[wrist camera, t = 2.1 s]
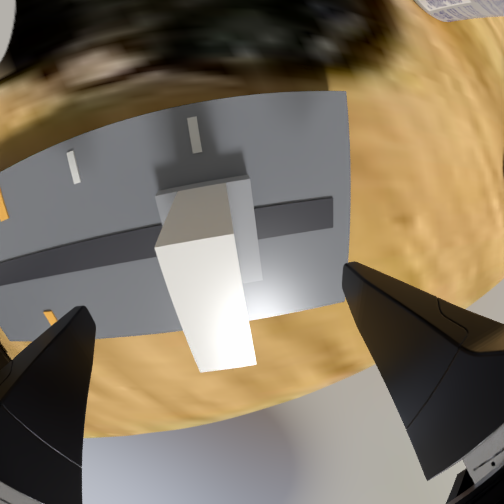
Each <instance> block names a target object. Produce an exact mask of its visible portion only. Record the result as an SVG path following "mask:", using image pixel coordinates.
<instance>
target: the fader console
mask: <svg viewBox="0 0 504 504" xmlns="http://www.w3.org/2000/svg"><path fill="white" fill-rule="evenodd" d="M243 175H248V176H249V178H250V182H251V189H252V197H253V205H254V213H255V221H256V229H257V237H258V245H259V254H260V262H261V270H262V278H263V280H261V281H255V282H249V283H243V290H244V296H245V302H246V308H247V313H248V319H249V321H250V320H256V319H261V318H267V317H272V316H278V315H283V314H288V313H293V312H298V311H303V310H308V309H313V308H317V307H322V306H326V305H331V304H335V303H340V302H344V301H345V295H344V292H343V290H342V273H343V266H344V264H345V263H348V253H349V234H350V142H349V123H348V108H347V96H346V91H299V92H279V93H266V94H255V95H246V96H237V97H230V98H222V99H216V100H210V101H204V102H198V103H193V104H188V105H183V106H178V107H173V108H169V109H164V110H160V111H156V112H152V113H148V114H144V115H140V116H137V117H133V118H130V119H126V120H123V121H120V122H116V123H113V124H110V125H107V126H104V127H101V128H98V129H95V130H92V131H90V132H87V133H84V134H81V135H79V136H76V137H74V138H71V139H69V140H66V141H64V142H61V143H59V144H56V145H54V146H52V147H50V148H47V149H45V150H43V151H41V152H39V153H36V154H34V155H32V156H30V157H28V158H26V159H24V160H22V161H20V162H18V163H16V164H14V165H12V166H11V167H9V168H7V169H5V170H3V171H2V172H0V327H1V328H2V330H3V331H4V333H5V334H6V336H7V337H8V339H9V340H10V341H34V340H35V339H36V338H38V337H39V336H40V335H41V334H42V333H43V332H45V331H46V330H47V329H48V328H49V327H51V326H52V325H53V324H54V323H55V322H57V321H58V320H59V319H60V318H61V317H63V316H64V315H65V314H66V313H68V312H69V311H70V310H71V309H73V308H74V307H76V306H83V305H84V306H86V307H87V309H88V310H89V312H90V314H91V316H92V318H93V320H94V321H95V324H96V336H95V339H101V338H115V337H127V336H138V335H148V334H157V333H166V332H175V331H183V329H182V326H181V324H180V321H179V319H178V316H177V313H176V310H175V308H174V305H173V302H172V299H171V297H170V294H169V291H168V288H167V285H166V282H165V279H164V276H163V273H162V270H161V267H160V264H159V261H158V258H157V255H156V251H155V248H154V247H155V245H156V242H157V240H158V237H159V234H160V232H161V229H162V223H161V219H160V215H159V211H158V207H157V203H156V199H155V195H156V194H157V192H158V191H160V190H165V189H170V188H174V187H179V186H185V185H190V184H195V183H200V182H206V181H212V180H218V179H224V178H230V177H236V176H243Z"/></svg>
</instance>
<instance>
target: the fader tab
mask: <svg viewBox="0 0 504 504" xmlns="http://www.w3.org/2000/svg"><path fill="white" fill-rule="evenodd" d="M155 199H156V203H157V207H158V211H159V215H160V219H161V223H162V229H161V232H160V234H159V237H158V240H157V242H156V245H155V247H154V248H155V251H156V255H157V258H158V261H159V264H160V267H161V270H162V273H163V276H164V279H165V282H166V285H167V288H168V291H169V294H170V297H171V299H172V302H173V305H174V308H175V310H176V313H177V316H178V319H179V321H180V324H181V326H182V329H183V332H184V334H185V337H186V339H187V342H188V344H189V347H190V349H191V352H192V354H193V356H194V359H195V361H196V363H197V366H198V368H199V370H200V372H208V371H216V370H224V369H231V368H238V367H244V366H250V365H256V358H255V353H254V347H253V342H252V336H251V330H250V325H249V319H248V313H247V308H246V302H245V296H244V290H243V283H249V282H255V281H261V280H263V278H262V270H261V262H260V254H259V245H258V237H257V229H256V221H255V213H254V205H253V197H252V189H251V182H250V178H249V176H248V175H243V176H236V177H230V178H224V179H218V180H212V181H206V182H200V183H195V184H190V185H185V186H179V187H174V188H170V189H165V190H160V191H158V192H157V194H156V195H155Z"/></svg>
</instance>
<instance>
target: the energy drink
mask: <svg viewBox="0 0 504 504" xmlns="http://www.w3.org/2000/svg"><path fill="white" fill-rule="evenodd" d="M414 1H415V3H416V4H417V5H418V6H419V7H420V8H422V9H423V10H424V11H425V12H426V13H428V14H429V15H431V16H432V17H434V18H436V19H438V20H441V21H444V22H451V21H457V20H465V19H473V18H483V17H498V16H504V0H414Z"/></svg>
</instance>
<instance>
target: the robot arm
mask: <svg viewBox="0 0 504 504" xmlns="http://www.w3.org/2000/svg"><path fill="white" fill-rule="evenodd" d="M342 290H343V292H344V295H345V297H346V300H347V302H348V305H349V308H350V310H351V313H352V315H353V318H354V321H355V323H356V325H357V328H358V330H359V332H360V334H361V336H362V338H363V339H364V341H365V343H366V345H367V347H368V349H369V351H370V353H371V355H372V357H373V359H374V361H375V363H376V365H377V367H378V369H379V371H380V373H381V376H382V378H383V379H384V382H385V384H386V386H387V388H388V390H389V392H390V395H391V397H392V399H393V401H394V403H395V405H396V408H397V410H398V412H399V414H400V417H401V419H402V421H403V423H404V426H405V428H406V429H407V430H406V431H407V433H408V435H409V437H410V440H411V442H412V445H413V447H414V449H415V452H416V454H417V457H418V459H419V462H420V464H421V467H422V470H423V472H424V475H425V477H426V479H427V481H428V480H430V479H432V478H434V477H435V476H437V475H439V474H440V473H442V472H444V471H445V470H447V469H448V468H450V467H452V466H453V465H455V464H456V463H458V462H459V461H461V460H463V462H464V464H465V466H466V469H465V470H463V471H462V472H460V473H459V474H457V477H456V480H455V482H454V485H453V488H452V490H451V493H450V495H449V498H448V500H447V502H446V504H504V324H502V323H499V322H497V321H494V320H492V319H489V318H486V317H484V316H481V315H478V314H476V313H473V312H471V311H468V310H465V309H463V308H460V307H458V306H456V305H453V304H451V303H449V302H447V301H444V300H442V299H440V298H437V297H436V296H433V295H431V294H429V293H427V292H425V291H422V290H420V289H418V288H416V287H413V286H411V285H409V284H407V283H404V282H402V281H400V280H398V279H395V278H393V277H391V276H388V275H386V274H384V273H381V272H379V271H377V270H374V269H372V268H370V267H367V266H365V265H363V264H360V263H358V262H349V263H345V264H344V266H343V273H342ZM95 336H96V324H95V321H94V320H93V318H92V316H91V314H90V312H89V310H88V309H87V307H86V306H84V305H83V306H76V307H74V308H73V309H71V310H70V311H69V312H68V313H66V314H65V315H64V316H63V317H61V318H60V319H59V320H58V321H57V322H55V323H54V324H53V325H52V326H51V327H49V328H48V329H47V330H46V331H45V332H43V333H42V334H41V335H40V336H39V337H38V338H36V339H35V340H34V341H33V342H32V343H31V344H29V345H28V346H27V347H26V348H25V349H24V350H23V351H21V352H20V353H19V354H18V355H17V356H16V357H15V358H14V359H13V360H10V359H9V358H8V357H7V355H6V354H5V353H4V351H3V350H2V349H1V347H0V504H82V468H81V467H82V449H83V435H84V423H85V414H86V405H87V397H88V390H89V384H90V378H91V372H92V365H93V355H94V345H95Z"/></svg>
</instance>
